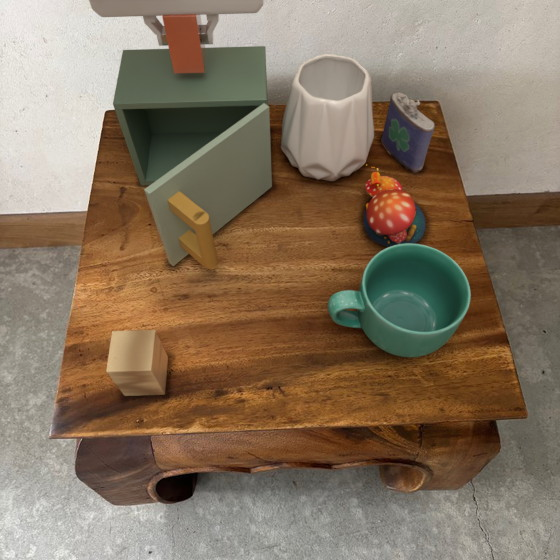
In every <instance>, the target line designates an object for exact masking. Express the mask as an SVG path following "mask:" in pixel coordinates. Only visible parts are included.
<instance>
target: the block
mask: <svg viewBox="0 0 560 560" xmlns="http://www.w3.org/2000/svg"><path fill="white" fill-rule="evenodd" d="M161 18H162V22H163V26H164V27H165V32H166V37H167V42H168V46H167V47H168V49H169V52H170V56H171V61H172V66H173V71H174V73H204V72H205V59H206V51H205V48H206V44H202V43H201V36H200V30H201V29H200V28H201V25H203V23H202V15H196V14H186V15H163V16H161Z"/></svg>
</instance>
